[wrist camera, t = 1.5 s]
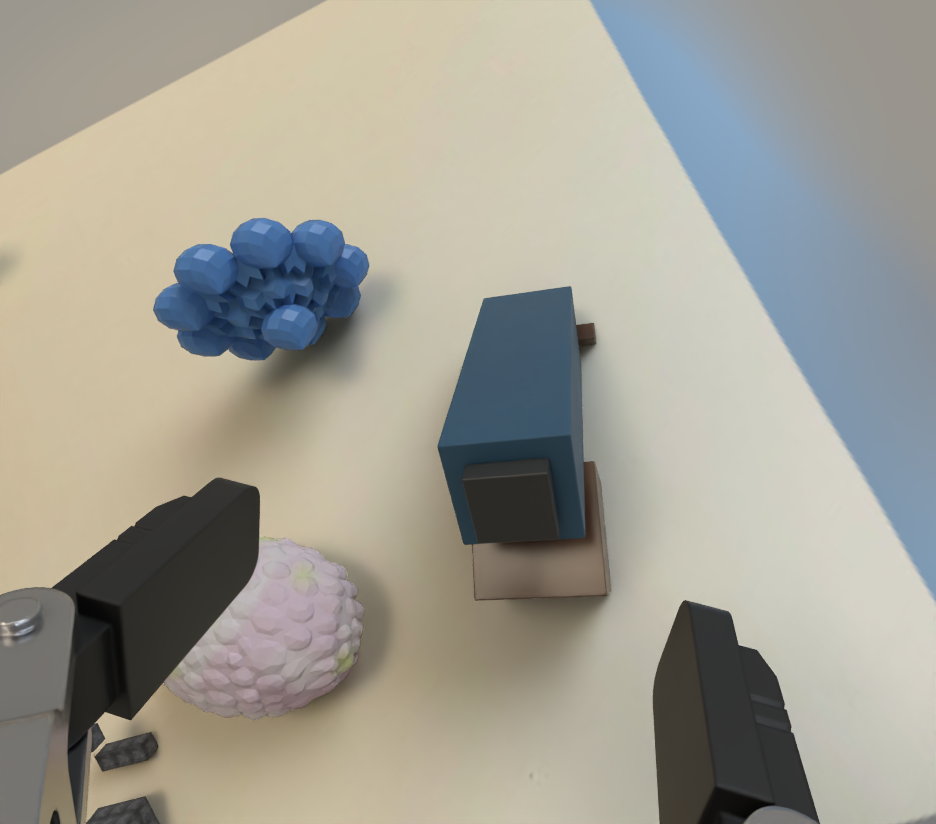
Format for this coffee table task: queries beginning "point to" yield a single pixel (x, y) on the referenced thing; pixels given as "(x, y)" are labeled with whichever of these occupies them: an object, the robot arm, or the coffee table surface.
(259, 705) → the decorative item
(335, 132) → the coffee table surface
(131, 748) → the building blocks
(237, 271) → the grapes
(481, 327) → the steel blue prism
